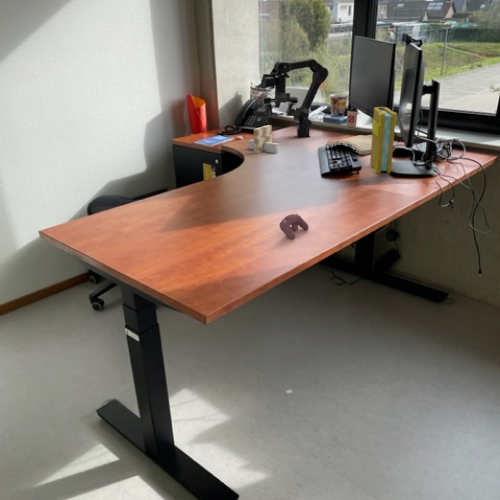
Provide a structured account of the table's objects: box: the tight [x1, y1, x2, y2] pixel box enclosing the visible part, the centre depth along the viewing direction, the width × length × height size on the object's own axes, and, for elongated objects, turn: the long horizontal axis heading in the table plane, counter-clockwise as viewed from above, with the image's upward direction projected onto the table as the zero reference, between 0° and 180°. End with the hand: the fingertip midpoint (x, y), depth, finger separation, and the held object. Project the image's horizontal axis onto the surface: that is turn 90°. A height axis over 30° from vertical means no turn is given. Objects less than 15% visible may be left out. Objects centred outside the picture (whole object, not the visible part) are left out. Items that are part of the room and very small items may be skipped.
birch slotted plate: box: [253, 124, 273, 154], centre depth 247 cm, size 12×2×12 cm, turn 140°
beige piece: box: [325, 134, 372, 156], centre depth 244 cm, size 24×8×20 cm
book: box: [369, 106, 398, 174], centre depth 208 cm, size 17×7×25 cm, turn 179°
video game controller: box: [279, 213, 310, 240], centre depth 153 cm, size 10×5×7 cm, turn 142°
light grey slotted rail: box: [248, 139, 279, 154], centre depth 249 cm, size 18×2×4 cm, turn 50°
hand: (279, 116), depth 264 cm, fingers open, 9 cm apart
